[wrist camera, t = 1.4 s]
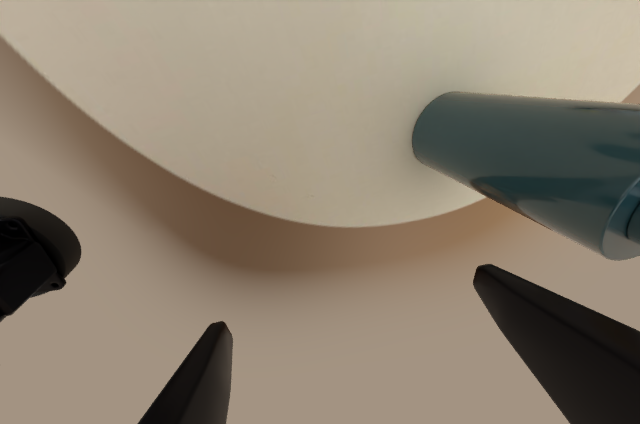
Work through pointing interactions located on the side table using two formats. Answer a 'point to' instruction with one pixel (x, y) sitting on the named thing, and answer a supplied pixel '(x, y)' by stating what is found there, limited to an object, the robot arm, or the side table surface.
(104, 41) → the side table surface
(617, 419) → the robot arm
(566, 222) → the bottle
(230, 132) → the side table surface
